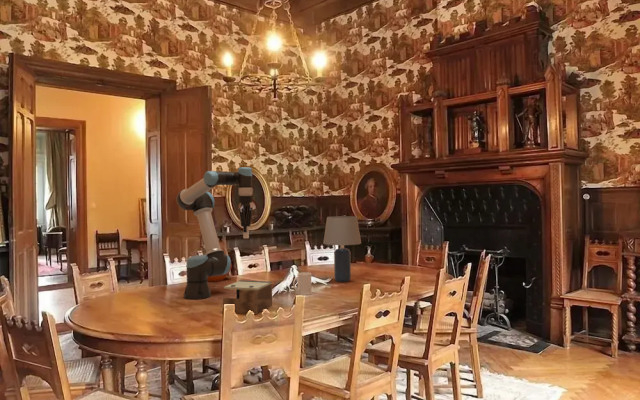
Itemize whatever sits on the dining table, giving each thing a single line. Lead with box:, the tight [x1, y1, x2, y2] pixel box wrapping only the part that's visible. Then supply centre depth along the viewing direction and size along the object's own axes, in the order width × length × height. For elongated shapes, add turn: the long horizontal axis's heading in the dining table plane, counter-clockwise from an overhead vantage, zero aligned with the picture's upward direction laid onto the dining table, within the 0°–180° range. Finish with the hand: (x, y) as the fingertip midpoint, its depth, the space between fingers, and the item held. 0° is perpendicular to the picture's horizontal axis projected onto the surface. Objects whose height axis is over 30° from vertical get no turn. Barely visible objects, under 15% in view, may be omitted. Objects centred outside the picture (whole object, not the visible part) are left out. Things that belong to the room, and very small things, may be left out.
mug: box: [292, 272, 313, 296], centre depth 299 cm, size 12×8×12 cm
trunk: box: [222, 283, 273, 316], centre depth 262 cm, size 18×20×12 cm
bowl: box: [208, 264, 233, 282], centre depth 353 cm, size 25×25×10 cm
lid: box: [223, 279, 272, 290], centre depth 262 cm, size 18×18×2 cm
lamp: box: [323, 215, 362, 283], centre depth 341 cm, size 25×25×43 cm
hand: (246, 238), depth 283 cm, fingers closed
